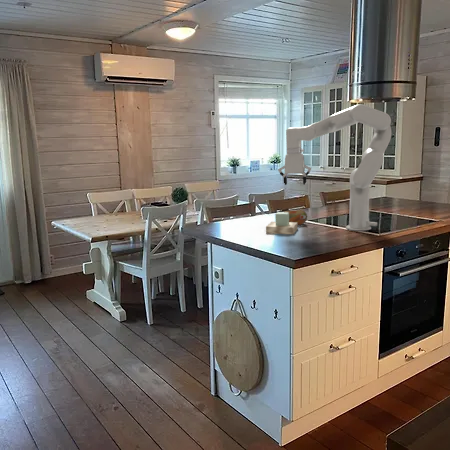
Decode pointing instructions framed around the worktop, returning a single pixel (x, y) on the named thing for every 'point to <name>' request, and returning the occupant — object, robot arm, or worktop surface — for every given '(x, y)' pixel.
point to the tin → (297, 216)
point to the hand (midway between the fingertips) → (295, 184)
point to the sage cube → (282, 218)
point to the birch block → (282, 228)
